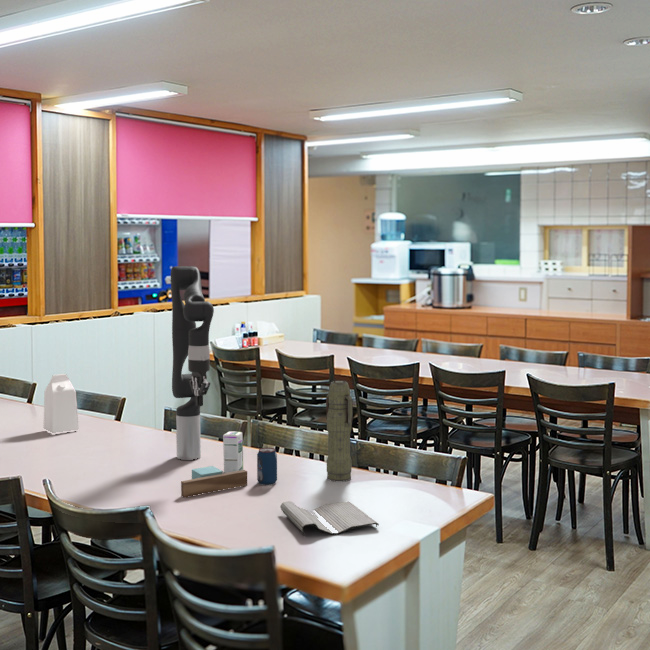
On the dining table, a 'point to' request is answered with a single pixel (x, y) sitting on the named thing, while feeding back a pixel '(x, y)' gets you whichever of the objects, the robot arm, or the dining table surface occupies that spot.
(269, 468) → the soda can
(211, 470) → the block
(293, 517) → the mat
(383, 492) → the dining table surface
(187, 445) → the robot arm
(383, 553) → the dining table surface
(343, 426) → the thermos
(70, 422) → the milk
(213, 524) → the dining table surface
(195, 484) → the board
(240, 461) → the syrup box
